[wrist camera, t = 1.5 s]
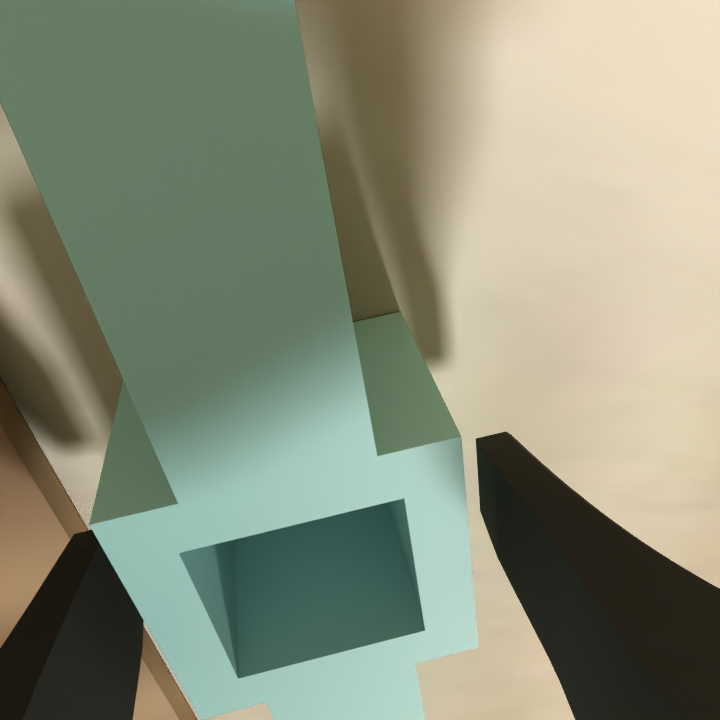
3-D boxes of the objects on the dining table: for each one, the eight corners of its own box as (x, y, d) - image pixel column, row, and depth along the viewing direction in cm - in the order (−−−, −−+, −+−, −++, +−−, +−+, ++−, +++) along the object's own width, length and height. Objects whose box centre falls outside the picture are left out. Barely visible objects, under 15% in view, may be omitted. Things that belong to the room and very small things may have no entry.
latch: (452, 708, 22) (494, 845, 18) (290, 751, 21) (303, 899, 18) (344, -115, 9) (413, -149, 6) (-58, -43, 9) (-231, -37, 5)
